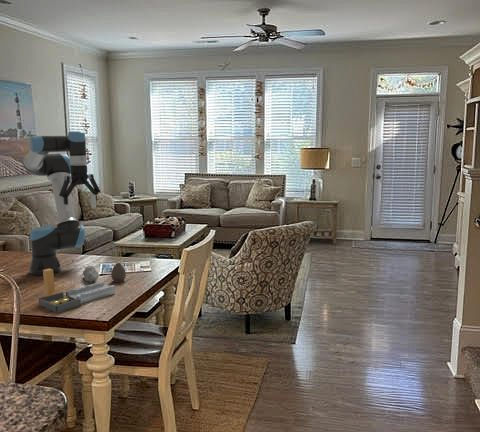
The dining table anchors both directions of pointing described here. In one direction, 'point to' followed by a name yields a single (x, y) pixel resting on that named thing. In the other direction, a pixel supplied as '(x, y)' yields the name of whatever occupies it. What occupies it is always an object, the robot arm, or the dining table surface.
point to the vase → (118, 273)
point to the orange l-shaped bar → (48, 282)
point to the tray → (62, 307)
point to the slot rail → (90, 292)
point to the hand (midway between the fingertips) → (81, 209)
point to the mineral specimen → (90, 274)
